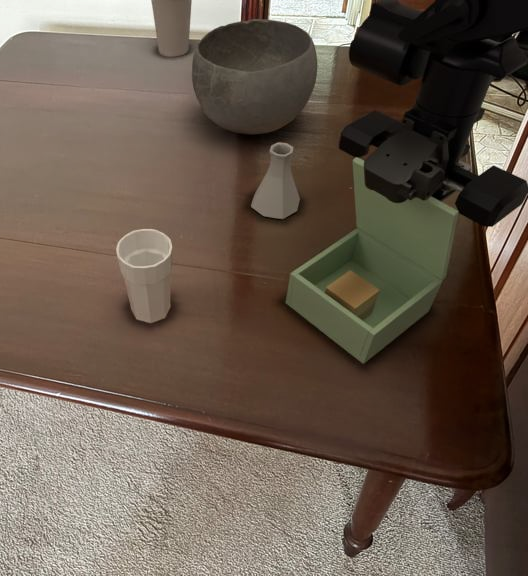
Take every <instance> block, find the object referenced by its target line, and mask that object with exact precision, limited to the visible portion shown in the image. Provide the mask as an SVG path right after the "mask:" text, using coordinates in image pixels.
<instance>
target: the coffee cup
mask: <svg viewBox="0 0 528 576" xmlns="http://www.w3.org/2000/svg"><path fill="white" fill-rule="evenodd" d="M192 3H193V2H192V0H151V8H152V14H153V21H154V27H155V28H154V29H155V36H156V42H157V48H158V49H157V50H158V53H159V54H160V55H161V56H164V57H168V58H173V57H174V58H176V57H180V56H183V55H185V54H186V53H188V51H189V50H190V49H189V47H190V31H191V19H192Z"/></svg>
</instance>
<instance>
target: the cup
mask: <svg viewBox="0 0 528 576" xmlns="http://www.w3.org/2000/svg"><path fill="white" fill-rule="evenodd" d="M115 250H116V256H117V261H118V265H119V270H120V274H121V275H122V276H123V279H124V285H125V288H126V293H127V296H128V301H129V305H130V311H131V312H132V314H133V316H134V317H135V319H136V320H138V321H141V322H145V323H148V324H154V323H155V322H158V321H162V320H163V319H166V318H167V315H168V313H169V311H170V309H171V287H172V285H171V284H172V283H171V282H172V280H171V279H172V267H173V244H172V240H171V238H170V237H169V236H168V235H167V234H165V233H164V232H162V231H160V230H157V229H155V228H154V229H153V228H142V229H135V230H132V231H130V232H128V233H127V234H124V236H123V237H122V238H121V239H119V241H118V242H117V244H116V249H115Z"/></svg>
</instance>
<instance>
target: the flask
mask: <svg viewBox="0 0 528 576" xmlns="http://www.w3.org/2000/svg"><path fill="white" fill-rule="evenodd" d="M293 151H294V146H293V145H290V144H289V143H286V142H280V141H279V142H276V143H274V144H271V146H270V148H269V155H270V163H269V166H268V168H267V171H266V172H265V174H264V177H263V179H262V180H261V182H260V184H259V185H258V188H257V189H256V191H255V192H254V194H253V198H252V200H251V205H250V207H251V208H252V209H253V210H255V211H256V212H257V213H258V214H260V215H261V216H262V217H267V218H272V219H279V220H284V219H286V218H287V217H289V216H291V215H292V214H294V213H296V212H298V209H299V205H300V202H301V198H300V195H299V191H298V189H297V186H296V183H295V180H294V176H293V173H292V169H291V168H292V167H291V156H292V155H293Z"/></svg>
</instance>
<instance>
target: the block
mask: <svg viewBox="0 0 528 576" xmlns="http://www.w3.org/2000/svg"><path fill="white" fill-rule="evenodd" d="M379 291H380V290H379V289H378V288H376V287H375V286H373V285H372V284H370V283H369V282H367V281H366V280H364V279H363V278H361V277H360V276H358V275H357V274H356V273H354V272H353V271H351V270H350V271H348V272H347V273H346V274H344V275H343V276H341V277H340V278H339V279H337V280H336V281H334V282H333V283H331V284H330V285H329V286H327V287H326V290H325V294H327V295H328V296H329V297H331V298H332V299H334V300H335V301H336V302H338V303H339V304H340V305H342V306H343V307H345V308H346V309H347V310H349V311H350V312H351V313H353V314H354V315H355V316H357V317H358V318H360V319H361V320H364V319H365V318H366V317H368V316H369V315H370V314H372V311H373V309H374V306H375V303H376V300H377V297H378V294H379Z"/></svg>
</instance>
